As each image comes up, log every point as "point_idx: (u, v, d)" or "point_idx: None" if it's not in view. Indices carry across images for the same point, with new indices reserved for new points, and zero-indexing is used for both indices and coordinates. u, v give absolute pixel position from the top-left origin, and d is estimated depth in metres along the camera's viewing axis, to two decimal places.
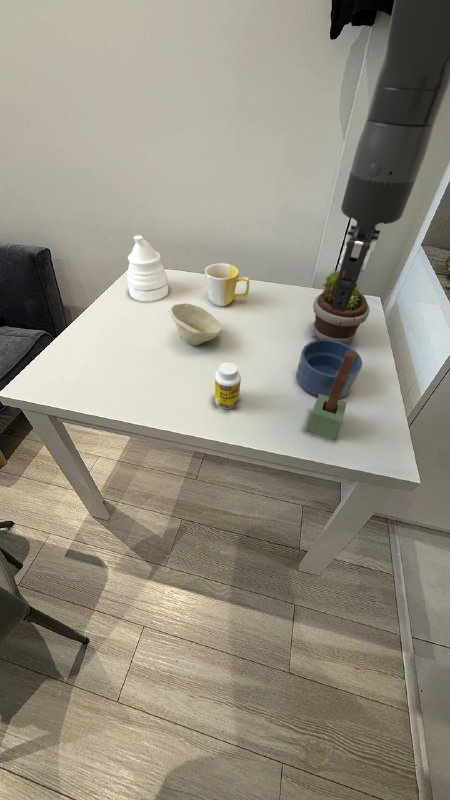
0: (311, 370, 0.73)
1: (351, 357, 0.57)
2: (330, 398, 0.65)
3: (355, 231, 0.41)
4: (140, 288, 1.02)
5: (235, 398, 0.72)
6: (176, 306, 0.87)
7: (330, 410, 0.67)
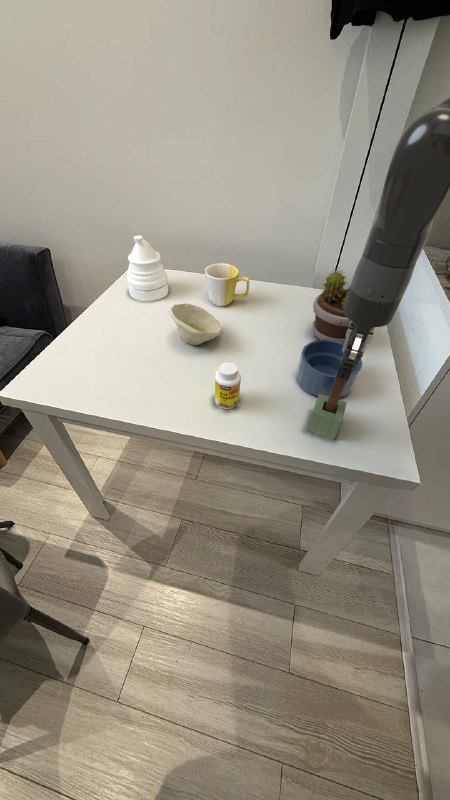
0: (311, 370, 0.73)
1: None
2: (330, 398, 0.65)
3: (354, 331, 0.50)
4: (140, 288, 1.02)
5: (235, 398, 0.72)
6: (176, 306, 0.87)
7: (330, 410, 0.67)
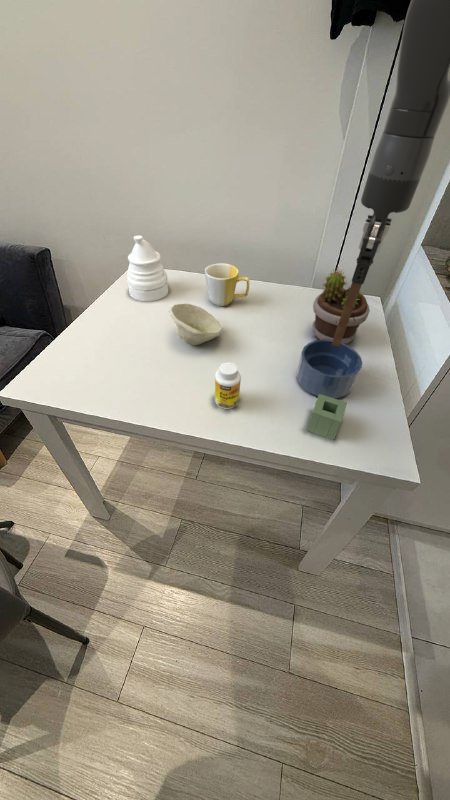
0: (311, 370, 0.73)
1: (367, 256, 0.58)
2: (344, 308, 0.66)
3: (372, 219, 0.52)
4: (140, 288, 1.02)
5: (235, 398, 0.72)
6: (176, 306, 0.87)
7: (344, 323, 0.68)
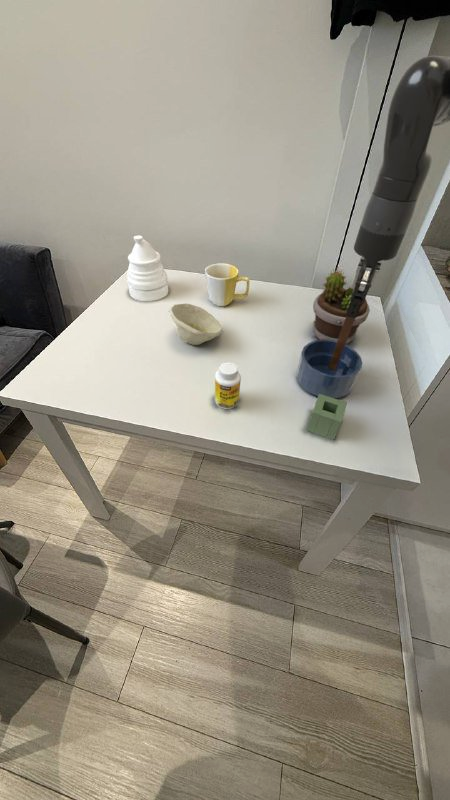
0: (311, 370, 0.73)
1: None
2: (340, 338, 0.72)
3: (364, 265, 0.58)
4: (140, 288, 1.02)
5: (235, 398, 0.72)
6: (176, 306, 0.87)
7: (340, 350, 0.74)
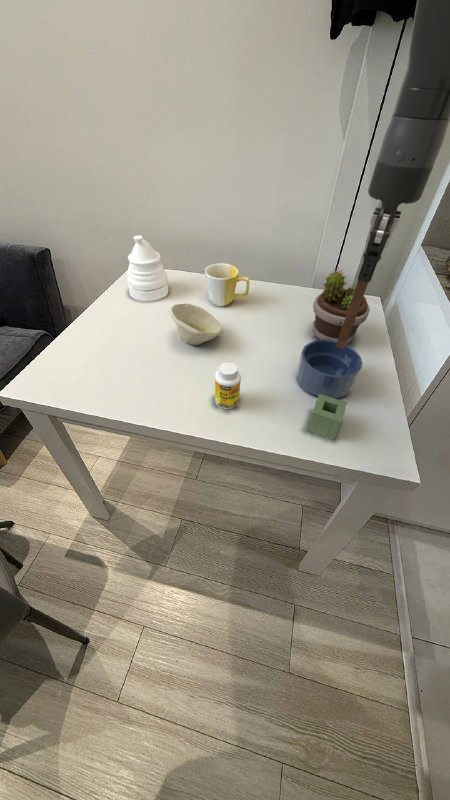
0: (311, 370, 0.73)
1: (374, 252, 0.54)
2: (350, 308, 0.62)
3: (381, 210, 0.48)
4: (140, 288, 1.02)
5: (235, 398, 0.72)
6: (176, 306, 0.87)
7: (350, 324, 0.64)
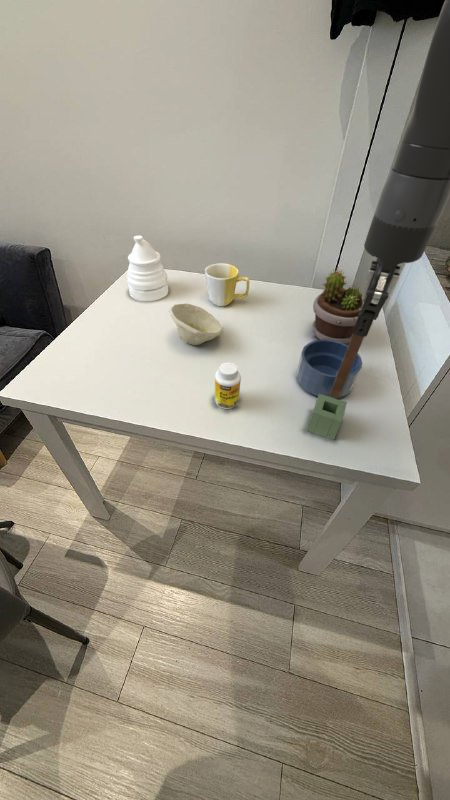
0: (311, 370, 0.73)
1: None
2: (345, 360, 0.57)
3: (378, 269, 0.43)
4: (140, 288, 1.02)
5: (235, 398, 0.72)
6: (176, 306, 0.87)
7: (344, 375, 0.59)
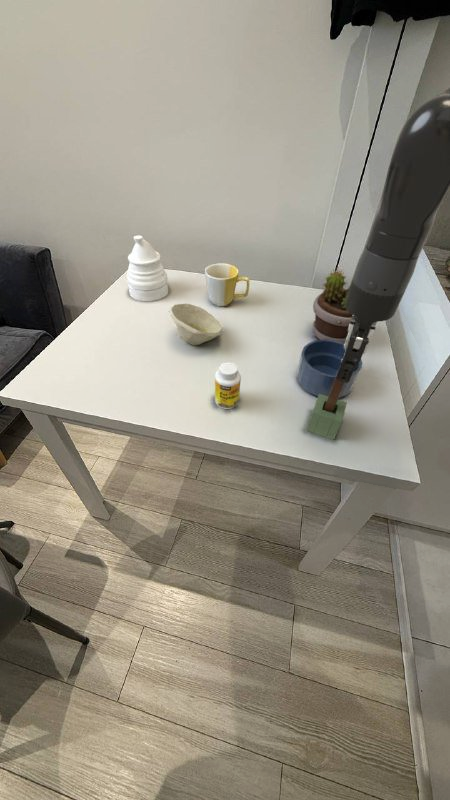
0: (311, 370, 0.73)
1: (350, 357, 0.57)
2: (329, 398, 0.65)
3: (356, 325, 0.49)
4: (140, 288, 1.02)
5: (235, 398, 0.72)
6: (176, 306, 0.87)
7: (330, 410, 0.67)
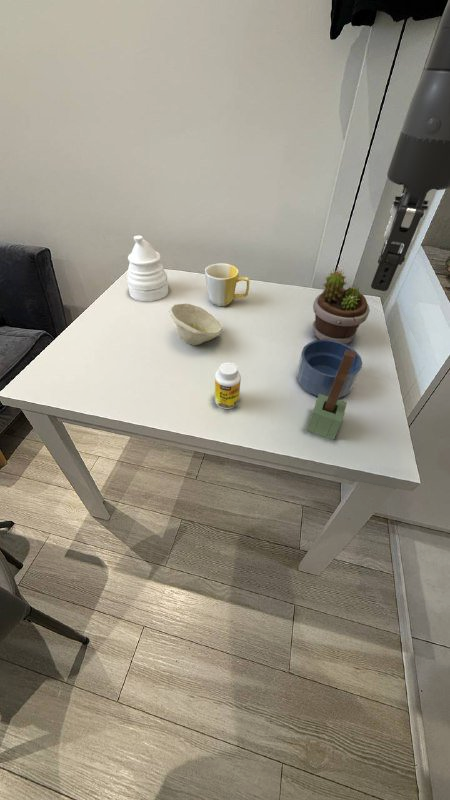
0: (311, 370, 0.73)
1: (350, 357, 0.57)
2: (329, 398, 0.65)
3: (405, 199, 0.37)
4: (140, 288, 1.02)
5: (235, 398, 0.72)
6: (176, 306, 0.87)
7: (330, 410, 0.67)
